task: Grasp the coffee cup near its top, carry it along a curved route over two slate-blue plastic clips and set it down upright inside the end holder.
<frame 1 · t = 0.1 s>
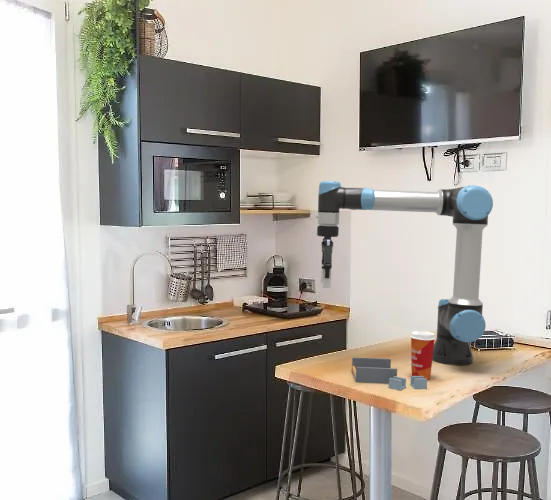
hand: (325, 285, 214), 28 cm above the table, fingers open, 13 cm apart
coffee cup: (420, 378, 201), on the table
clip 2: (397, 387, 188), on the table
clip 1: (418, 386, 190), on the table
end holder: (373, 377, 199), on the table
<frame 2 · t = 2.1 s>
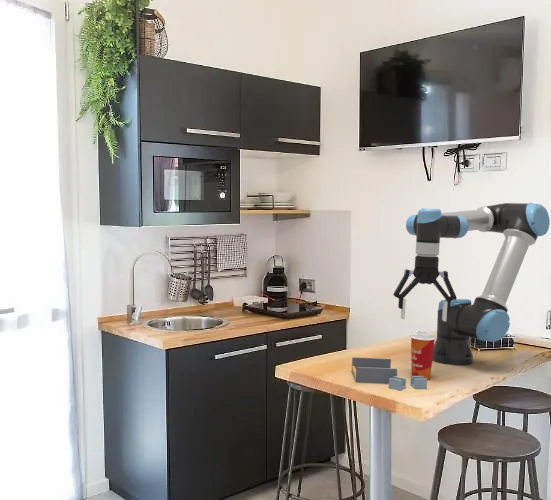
hand: (423, 319, 200), 19 cm above the table, fingers open, 13 cm apart
nothing on the table moved.
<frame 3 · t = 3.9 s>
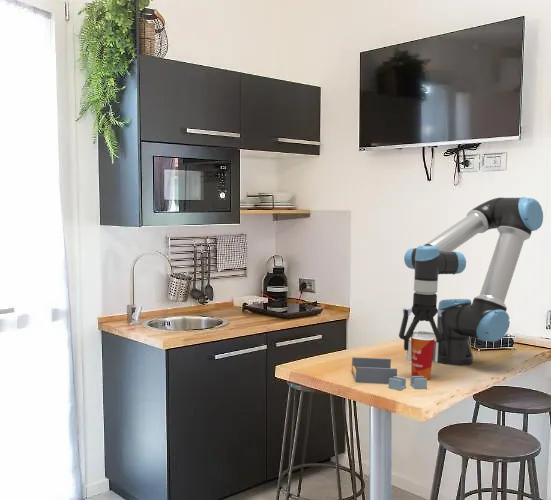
hand: (421, 360, 201), 6 cm above the table, fingers closed on coffee cup, 8 cm apart
coffee cup: (420, 378, 201), on the table, touching gripper
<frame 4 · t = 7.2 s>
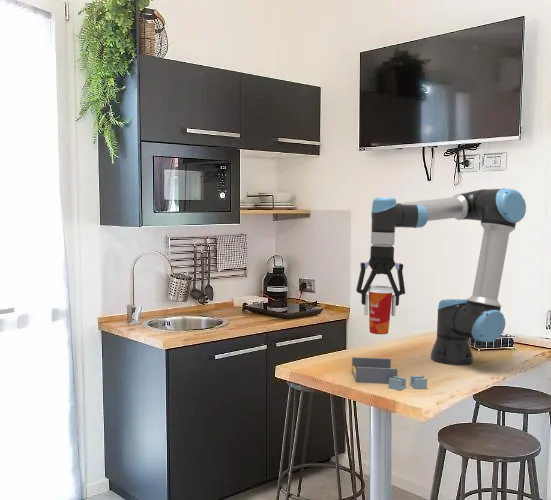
hand: (379, 315, 197), 21 cm above the table, fingers closed on coffee cup, 8 cm apart
coffee cup: (378, 333, 197), point 15 cm above the table, touching gripper
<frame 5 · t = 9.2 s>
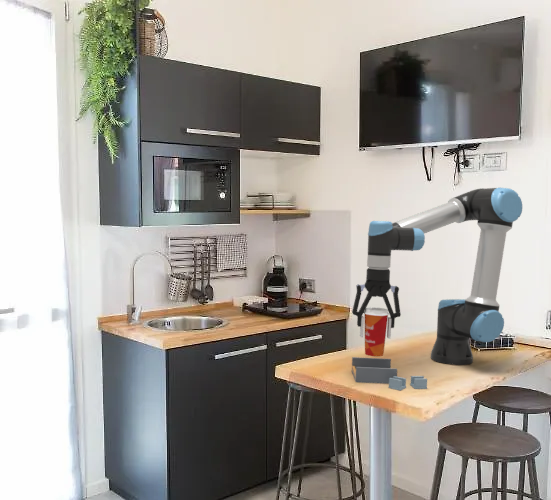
hand: (375, 336, 199), 13 cm above the table, fingers closed on coffee cup, 8 cm apart
coffee cup: (374, 354, 199), point 8 cm above the table, touching gripper
when the fingers open (8 cm above the table, at t = 11.0 s): coffee cup drops 1 cm, resting on end holder.
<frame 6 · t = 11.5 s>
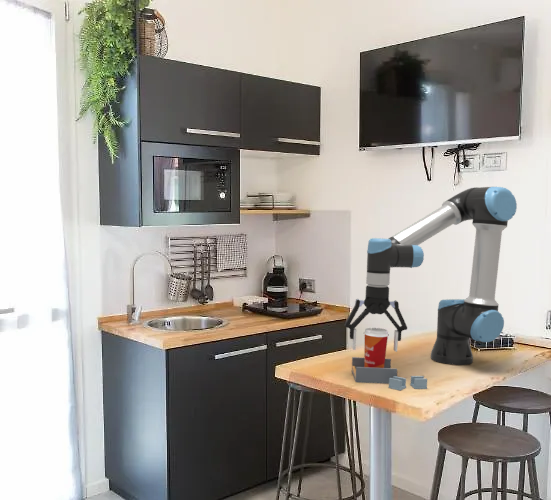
hand: (374, 349, 199), 9 cm above the table, fingers open, 13 cm apart
coffee cup: (373, 375, 199), point 1 cm above the table, touching end holder
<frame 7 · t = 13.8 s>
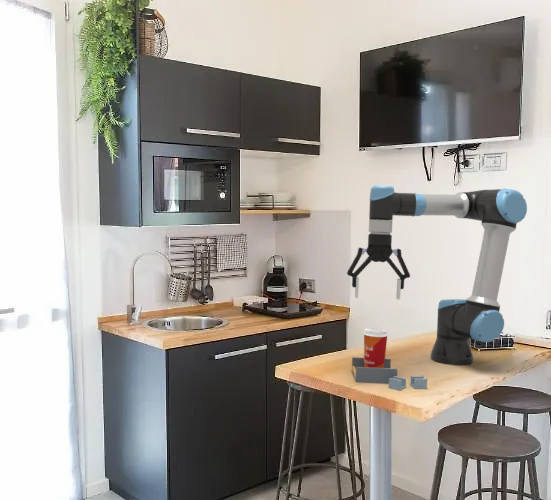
hand: (377, 298, 198), 26 cm above the table, fingers open, 13 cm apart
nothing on the table moved.
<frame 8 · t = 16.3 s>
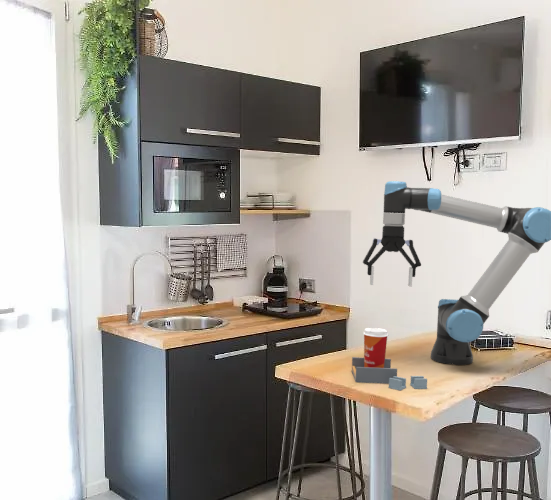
hand: (390, 285, 214), 29 cm above the table, fingers open, 13 cm apart
nothing on the table moved.
at the end: coffee cup inside the target area on the end holder (0.1 cm from its centre), point 0.6 cm above the end holder's base; coffee cup tilted 0°; the gripper is holding nothing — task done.
